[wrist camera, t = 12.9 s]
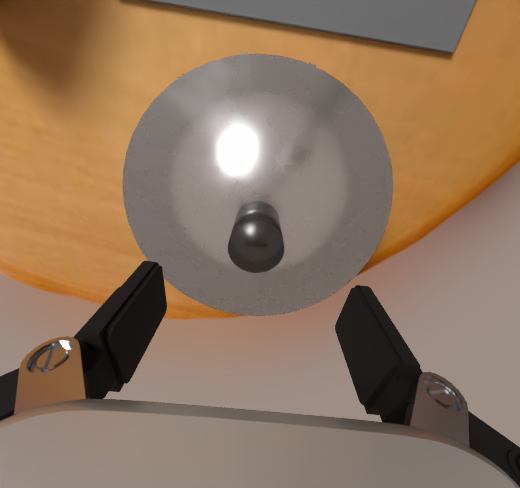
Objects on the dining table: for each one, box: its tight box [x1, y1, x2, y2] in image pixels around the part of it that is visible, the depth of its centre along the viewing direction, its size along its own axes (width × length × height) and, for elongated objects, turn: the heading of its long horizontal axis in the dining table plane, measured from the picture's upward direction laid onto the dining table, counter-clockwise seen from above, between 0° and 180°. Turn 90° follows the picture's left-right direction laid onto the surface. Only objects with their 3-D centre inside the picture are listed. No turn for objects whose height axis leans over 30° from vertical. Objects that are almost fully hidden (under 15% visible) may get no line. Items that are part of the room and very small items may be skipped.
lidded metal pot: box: [123, 52, 393, 316], centre depth 21 cm, size 24×24×13 cm
